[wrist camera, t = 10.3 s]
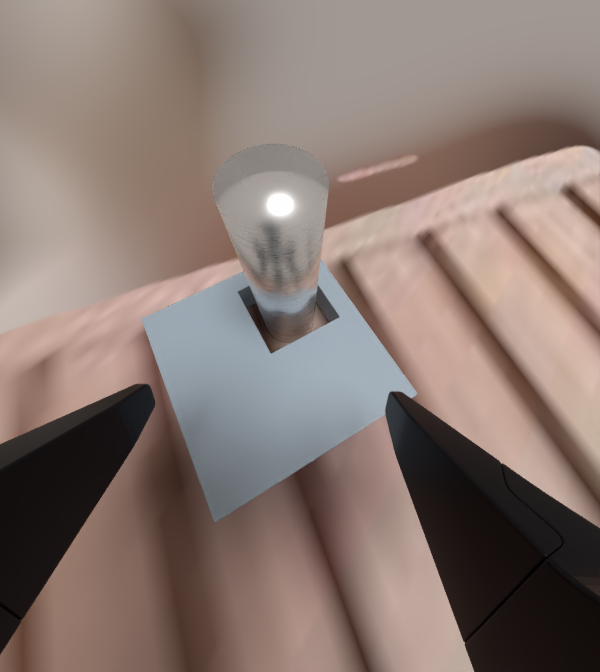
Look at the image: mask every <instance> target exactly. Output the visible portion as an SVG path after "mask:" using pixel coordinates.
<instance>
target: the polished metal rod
mask: <svg viewBox="0 0 600 672" xmlns="http://www.w3.org/2000/svg"><path fill="white" fill-rule="evenodd" d="M328 189H329V179H328V175H327V172H326V170H325V168H324V166H323V165H322V164H321V162H320V161H319V160H318V159H317V158H316V157H314V156H313V155H312V154H310V153H308V152H307V151H304V150H302V149H300V148H297V147H294V146H289V145H283V144H266V145H259V146H254V147H251V148H247V149H245V150H243V151H240V152H238V153H237V154H235V155H233V156H232V157H230V158H229V159H228V160H227V161H226V162H224V164H223V165H222V166H221V167H220V168H219V170H218V171H217V173H216V175H215V178H214V181H213V195H214V199H215V202H216V204H217V206H218V209H219V211H220V214H221V216H222V219H223V221H224V224H225V226H226V229H227V231H228V234H229V236H230V239H231V240H232V244H233V246H234V249H235V251H236V253H237V256H238V258H239V261H240V263H241V266H242V268H243V271H244V273H245V276H246V278H247V281H248V283H249V286H250V288H251V291H252V293H253V296H254V298H255V300H256V303H257V305H258V308H259V310H260V313H261V315H262V318H263V320H264V323H265V325H266V328H267V330H268V332H269V333H270V334H271V336H273V337H274V338H275V339H277V340H279V341H282V342H287V343H290V342H294V341H296V340H298V339H300V338H302V337H303V336H305V335H307V334H308V333H309V332H310V331H311V329H312V326H313V320H314V312H315V303H316V294H317V285H318V277H319V268H320V259H321V250H322V242H323V233H324V224H325V215H326V206H327V198H328Z"/></svg>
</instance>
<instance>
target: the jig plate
mask: <svg viewBox="0 0 600 672" xmlns="http://www.w3.org/2000/svg"><path fill="white" fill-rule="evenodd" d="M316 303H317V304H318V306H319V307H320V309H321V311H322V312H323V314H324V315H325V317H326V318H327V320H328V321H329V323H328V324H326V325H324V326H322V327H320V328H318V329H317V330H315V331H313V332H311V333H309V334H307V335H305V336H303V337H302V338H300V339H298V340H296V341H294V342H292V343H290V344H289V345H287V346H285V347H283V348H281V349H279V350H277V351H275V352H274V353H272V354H271V353H270V351H269V350H268V348H267V346H266V344H265V342H264V340H263V338H262V337H261V335H260V333H259V331H258V329H257V327H256V325H255V324H254V322H253V320H252V318H251V316H250V314H249V312H248V310H247V309H246V308H247V307H249V306H251V305H254V304H256V300H255V298H254V296H253V293H252V291H251V288H250V286H249V283H248V281H247V278H246V276H245V273H244V272H241V273H239V274H237V275H235V276H233V277H231V278H228V279H226V280H224V281H222V282H220V283H218V284H215V285H213V286H211V287H209V288H207V289H205V290H203V291H200V292H198V293H196V294H194V295H192V296H190V297H187V298H185V299H183V300H181V301H179V302H177V303H174V304H172V305H170V306H168V307H166V308H164V309H162V310H159V311H157V312H155V313H153V314H151V315H149V316H146V317H144V318H142V322H143V324H144V327H145V330H146V333H147V336H148V338H149V341H150V344H151V347H152V350H153V352H154V355H155V358H156V361H157V364H158V366H159V369H160V372H161V375H162V378H163V380H164V383H165V386H166V389H167V392H168V394H169V397H170V400H171V403H172V406H173V408H174V411H175V414H176V417H177V420H178V422H179V425H180V428H181V431H182V434H183V436H184V439H185V442H186V445H187V448H188V450H189V453H190V456H191V459H192V462H193V465H194V467H195V470H196V473H197V476H198V479H199V481H200V484H201V487H202V490H203V493H204V495H205V498H206V501H207V504H208V507H209V509H210V512H211V515H212V518H213V521H214V523H216V522H218V521H219V520H221V519H222V518H224V517H225V516H227V515H229V514H230V513H232V512H233V511H235V510H236V509H238V508H239V507H241V506H243V505H244V504H246V503H247V502H249V501H250V500H252V499H254V498H255V497H257V496H258V495H260V494H261V493H263V492H265V491H266V490H268V489H269V488H271V487H272V486H274V485H276V484H277V483H279V482H280V481H282V480H283V479H285V478H287V477H288V476H290V475H291V474H293V473H294V472H296V471H298V470H299V469H301V468H302V467H304V466H305V465H307V464H309V463H310V462H312V461H313V460H315V459H316V458H318V457H320V456H321V455H323V454H324V453H326V452H327V451H329V450H330V449H332V448H334V447H335V446H337V445H338V444H340V443H341V442H343V441H345V440H346V439H348V438H349V437H351V436H352V435H354V434H356V433H357V432H359V431H360V430H362V429H363V428H365V427H367V426H368V425H370V424H371V423H373V422H374V421H376V420H378V419H379V418H381V417H382V416H384V415H385V408H386V403H387V399H388V394H389V392H391V391H400V392H403V393H404V394H406V395H407V396H409V397H410V398H412V397H414V396H415V395H417V392H416V391H415V390H414V388H413V387H412V385H411V384H410V383H409V381H408V380H407V378H406V377H405V376H404V374H403V373H402V371H401V370H400V369H399V367H398V366H397V364H396V363H395V362H394V360H393V359H392V358H391V356H390V355H389V353H388V352H387V351H386V349H385V348H384V346H383V345H382V344H381V342H380V341H379V339H378V338H377V337H376V335H375V334H374V332H373V331H372V330H371V328H370V327H369V326H368V324H367V323H366V321H365V320H364V319H363V317H362V316H361V314H360V313H359V312H358V310H357V309H356V307H355V306H354V305H353V303H352V302H351V300H350V299H349V298H348V296H347V295H346V293H345V292H344V291H343V289H342V288H341V287H340V285H339V284H338V282H337V281H336V280H335V278H334V277H333V275H332V274H331V273H330V271H329V270H328V268H327V267H326V266H325V264H324V263H323V261H322V260H321V259H320V268H319V277H318V285H317V294H316Z"/></svg>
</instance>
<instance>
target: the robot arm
mask: <svg viewBox="0 0 600 672" xmlns="http://www.w3.org/2000/svg"><path fill="white" fill-rule="evenodd" d="M154 407H155V399H154V396H153V393H152V390H151V387H150V386H149V385H148V384H135V385H133V386H130V387H128V388H126V389H124V390H121V391H119V392H117V393H115V394H112V395H110V396H108V397H106V398H103V399H101V400H99V401H97V402H94V403H92V404H90V405H88V406H85V407H83V408H81V409H79V410H76V411H74V412H72V413H70V414H67V415H65V416H63V417H61V418H58V419H56V420H54V421H52V422H49V423H47V424H45V425H43V426H40V427H38V428H36V429H34V430H31V431H29V432H27V433H25V434H22V435H20V436H18V437H16V438H13V439H11V440H9V441H7V442H4V443H2V444H0V654H1V653H2V651H3V650H4V648H5V646H6V645H7V643H8V642H9V640H10V639H11V637H12V636H13V634H14V632H15V631H16V629H17V628H18V626H19V625H20V623H21V620H22V619H23V618H24V616H25V615H26V613H27V612H28V610H29V609H30V607H31V606H32V604H33V603H34V601H35V599H36V598H37V596H38V595H39V593H40V592H41V590H42V589H43V587H44V585H45V584H46V582H47V581H48V579H49V578H50V576H51V575H52V573H53V571H54V570H55V568H56V567H57V565H58V564H59V562H60V561H61V559H62V557H63V556H64V554H65V553H66V551H67V550H68V548H69V547H70V545H71V543H72V542H73V540H74V539H75V537H76V536H77V534H78V533H79V531H80V529H81V528H82V526H83V525H84V523H85V522H86V520H87V519H88V517H89V515H90V514H91V512H92V511H93V509H94V508H95V506H96V505H97V503H98V501H99V500H100V498H101V497H102V495H103V494H104V492H105V491H106V489H107V487H108V486H109V484H110V483H111V481H112V480H113V478H114V477H115V475H116V473H117V472H118V470H119V469H120V467H121V466H122V464H123V463H124V461H125V460H126V458H127V456H128V455H129V453H130V452H131V450H132V448H133V447H134V445H135V443H136V441H137V440H138V438H139V436H140V434H141V432H142V430H143V428H144V426H145V424H146V422H147V421H148V419H149V417H150V415H151V413H152V411H153V409H154ZM385 414H386V418H387V422H388V426H389V431H390V435H391V439H392V443H393V447H394V451H395V454H396V457H397V460H398V463H399V466H400V469H401V471H402V474H403V477H404V479H405V482H406V485H407V488H408V490H409V493H410V496H411V499H412V501H413V504H414V507H415V510H416V512H417V515H418V518H419V521H420V523H421V526H422V529H423V532H424V534H425V537H426V540H427V543H428V545H429V548H430V551H431V553H432V556H433V559H434V562H435V564H436V567H437V570H438V573H439V575H440V578H441V581H442V584H443V586H444V589H445V592H446V595H447V597H448V600H449V603H450V606H451V608H452V611H453V614H454V617H455V619H456V622H457V625H458V628H459V630H460V633H461V636H462V638H463V641H464V642H465V647H466V650H467V653H468V656H469V658H470V661H471V664H472V666H473V669H474V672H600V528H599V527H597V526H596V525H594V524H593V523H591V522H589V521H588V520H586V519H585V518H583V517H582V516H580V515H579V514H577V513H575V512H574V511H572V510H571V509H569V508H568V507H566V506H565V505H563V504H562V503H560V502H559V501H557V500H555V499H554V498H552V497H551V496H549V495H548V494H546V493H545V492H543V491H542V490H540V489H539V488H537V487H536V486H534V485H533V484H532V483H530V482H529V481H527V480H526V479H524V478H523V477H521V476H520V475H519V474H517V473H516V472H514V471H513V470H511V469H510V468H509V467H507V466H506V465H504V464H501V463H500V461H499V460H497V459H496V458H494V457H493V456H492V455H490V454H489V453H487V452H486V451H485V450H483V449H482V448H480V447H479V446H478V445H476V444H475V443H473V442H472V441H471V440H469V439H468V438H466V437H465V436H463V435H462V434H461V433H459V432H458V431H456V430H455V429H454V428H452V427H451V426H449V425H448V424H447V423H445V422H444V421H442V420H441V419H440V418H438V417H437V416H435V415H434V414H432V413H431V412H430V411H428V410H427V409H425V408H424V407H423V406H421V405H420V404H418V403H417V402H416V401H414V400H413V399H411V398H410V397H409V396H407V395H406V394H404V393H403V392H400V391H391V392H389V394H388V399H387V403H386V408H385Z"/></svg>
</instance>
